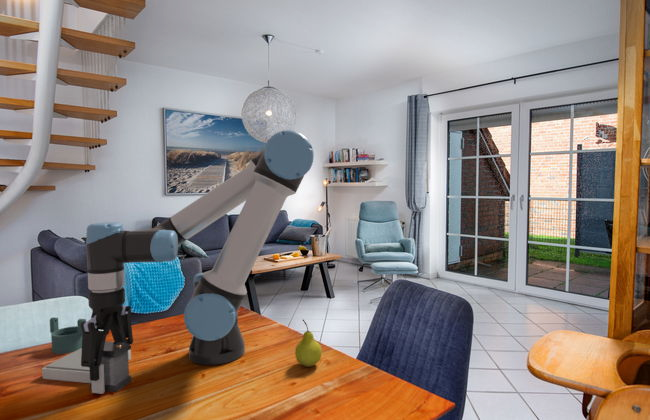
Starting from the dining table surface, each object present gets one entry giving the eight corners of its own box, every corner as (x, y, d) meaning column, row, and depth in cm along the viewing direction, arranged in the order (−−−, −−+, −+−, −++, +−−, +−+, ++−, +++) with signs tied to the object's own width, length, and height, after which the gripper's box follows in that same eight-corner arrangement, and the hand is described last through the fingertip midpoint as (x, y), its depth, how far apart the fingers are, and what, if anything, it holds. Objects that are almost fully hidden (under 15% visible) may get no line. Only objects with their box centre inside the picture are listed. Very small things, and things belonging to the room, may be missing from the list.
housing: (131, 381, 96) (129, 341, 96) (116, 391, 91) (115, 350, 91) (105, 379, 98) (103, 340, 97) (90, 389, 93) (88, 348, 92)
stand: (131, 358, 109) (130, 347, 109) (92, 383, 95) (91, 371, 95) (86, 355, 112) (86, 344, 112) (42, 378, 98) (42, 366, 98)
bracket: (87, 349, 116) (86, 319, 115) (48, 356, 111) (47, 325, 111) (87, 340, 123) (86, 311, 123) (51, 346, 119) (50, 316, 118)
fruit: (327, 365, 104) (327, 320, 104) (309, 374, 99) (308, 326, 99) (308, 357, 109) (308, 314, 108) (290, 366, 104) (289, 320, 103)
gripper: (121, 278, 104) (124, 364, 105) (57, 299, 84) (61, 405, 85) (147, 279, 102) (149, 367, 103) (88, 301, 83) (92, 408, 84)
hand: (110, 384), depth 94 cm, fingers open, 7 cm apart
